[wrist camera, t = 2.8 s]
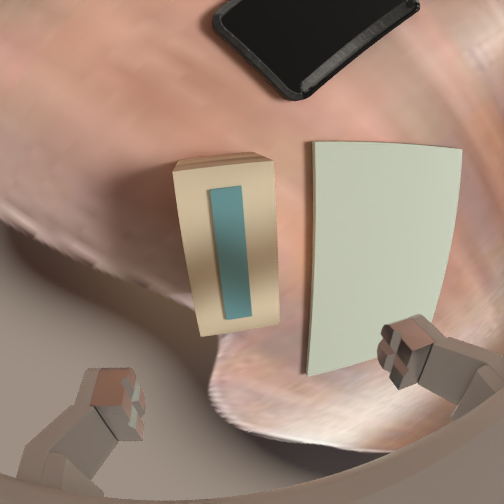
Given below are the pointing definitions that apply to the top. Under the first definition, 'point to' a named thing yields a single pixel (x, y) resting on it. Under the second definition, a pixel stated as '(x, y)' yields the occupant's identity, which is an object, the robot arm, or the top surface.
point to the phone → (306, 36)
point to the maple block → (230, 240)
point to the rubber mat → (376, 242)
